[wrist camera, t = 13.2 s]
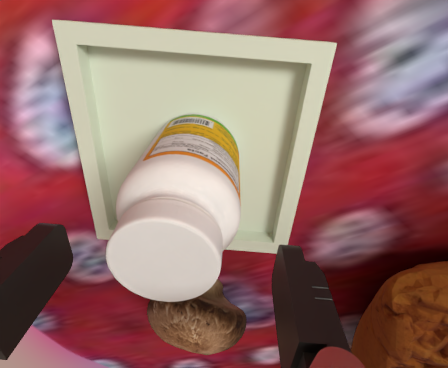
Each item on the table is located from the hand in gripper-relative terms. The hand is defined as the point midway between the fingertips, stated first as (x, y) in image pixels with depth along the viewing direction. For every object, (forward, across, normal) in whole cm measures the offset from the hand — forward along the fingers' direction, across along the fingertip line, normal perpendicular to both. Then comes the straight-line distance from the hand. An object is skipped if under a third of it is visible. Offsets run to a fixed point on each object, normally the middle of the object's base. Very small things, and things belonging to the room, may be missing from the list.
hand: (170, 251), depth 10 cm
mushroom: (+10, 0, +13) cm, 16 cm away
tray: (+9, 0, 0) cm, 9 cm away
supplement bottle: (+9, 0, 0) cm, 9 cm away
